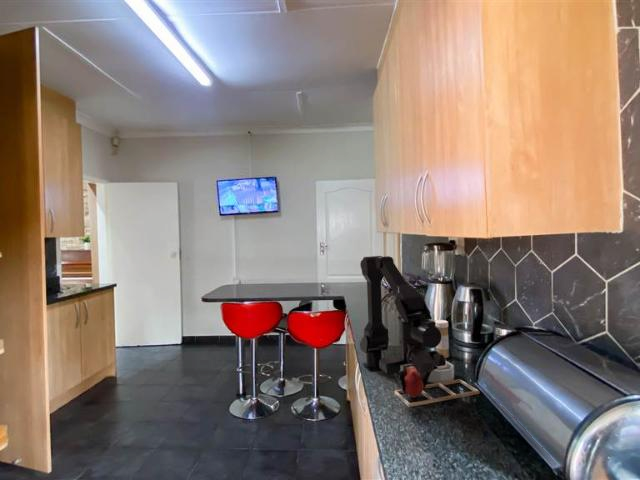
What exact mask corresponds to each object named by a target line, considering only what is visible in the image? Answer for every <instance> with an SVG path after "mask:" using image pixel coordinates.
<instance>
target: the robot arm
mask: <svg viewBox="0 0 640 480" xmlns="http://www.w3.org/2000/svg"><path fill="white" fill-rule="evenodd" d="M359 265H360V266H359V267H360V269H361V273H362V276H363V278H364V279H365V280H366V288H367V289H366V292H367V321H368V322H367V324H366V325H365V328H364V329H363V337H362V339H361V340H360V342H359V348H360V350H361V351H362V352H363V353H365V360H366V361H365V362H363V363H362V365H363V367H365V368H366V369H367V370H368V371H370V372H372V371H378V370H382V371H383V372H384V373H386V374H387V375H394V376H395V378H396V381H397V383H398V385H399V388H400V389H401V390H402V392H403V394H405V393H406V392H405V377H406V376H407V371H404V367H410V366H414V367H415V368H416V370H417V372H419V373H420V378H421V379H422V381H423V384H424V389H423V391H424V390H425V389H426V388H425V387H426V385H428V378H429V376H430V373H431V372H432V371H433V370H435V369H437V368H438V366H444V365H446V361H447V359H446V358H445V357H444V355H442V354H440V353H439V352H437V350H435V348H437V347H436V346H438V344H439V343H440V341H441V333H440V331H439V329H438V328H437V327H436V326H435V322H434V321H433V320H432V315H431V311H430V310H429V308H428V306H427V303H426V300H425V299H424V297H423V295H421V293H419V291H418V290H417V289H415V288H413V287H412V286H410V285H409V284H408V283H407V281H406V279H405V278H404V276H403V274H402V273H401V272H400V270H399V268H397V265H396V264H395V261H394V258H393V257H392V256H389V255H388V256H387V255H386V256H382V255H375V256H374V255H372V256H364V257H363V258H362V259H361V261H360V264H359ZM383 279H385V281H386V282H387V284H388V286H389V288H390V290H391V291H392V293H393V294H394V295H393V296H394V302H393V303H394V305H395V308H396V310H397V312H398V313H399V315H398V316H397V319H398V320H399V321H400V327H401V328H400V331H401V332H400V333H401V336H400V337H401V338H400V339H399V343H400V344H401V352H400V353H399V357H401V358H402V359H396V358H394V357H393V356H387V357H383V351H387V350H388V348H389V343H390V342H389V340H390V337H389V330H388V328H386V326H385V324H384V323H383V304H382V281H383ZM426 348H428V349H434V350H428V351H427V350H426Z"/></svg>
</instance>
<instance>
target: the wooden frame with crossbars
mask: <svg viewBox="0 0 640 480" xmlns="http://www.w3.org/2000/svg"><path fill="white" fill-rule="evenodd" d="M457 383H458V384H459V383H460V384H461V385H463V386H465V387H467V388H468V389H469V390H471V391H466V392H463V393H455V392H454V391H452V390H450V389H449V388H448V387H446V386H447V385H453V384H457ZM436 387H439V388H440V389H442V390H443V391H445V392H446V393H448V394H450V395H447V396H442V397H441V396H440V397H436V398H434V397H432V396H431V395H429V394H428V393H427V392H425V391H424V390H423V391H422V393H421V394H422V395H423V396H424V397H425V398H427V399H425V400H419V401H415V402H409V401H408V400H407V399H406V398H405V397H404V396H403V395H402V393H403V392H402V390H401V388H400V389H395V390H393V394H394V395H395V396H396V397H398V398H399V400H401V401H402V402H403V403H404V404H405V405H406V406H408V408H411V407H416V406H421V405H428V404H434V403H437V402H442V401H443V402H444V401H448V400H453V399H458V398H465V397H470V396H473V395H479V394H480V390H479V389H477V388H476V387H474V386H472V385H470V384H469V383H467V382H466V381H464V380H462V379H461V378H460V379H459V378H458V379H453V380H452V381H446V382H440V383H430V384H426V387H425V389H430V388H436ZM403 394H404V393H403Z"/></svg>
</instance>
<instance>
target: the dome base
mask: <svg viewBox="0 0 640 480" xmlns="http://www.w3.org/2000/svg"><path fill="white" fill-rule="evenodd" d="M446 362H447V364H448V365H449V369H445V370H433V371H432V372H431V373H430V376H429V378H428V381H427V383H431V384H435V383H440V382H446V381H452V380H455V379H454V378H455V365H454V364H453V363H450V361H447V360H446ZM411 370H412V371H414V372H415V373H416V374H417V375H418V376H419V377H420V373H419V372H417V370H416V368H415V367H414V366H413V365H410V366H406V376H407V375H408V374H410V371H411Z"/></svg>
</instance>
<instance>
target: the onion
mask: <svg viewBox="0 0 640 480" xmlns="http://www.w3.org/2000/svg"><path fill="white" fill-rule="evenodd" d="M423 389H424V384H423V381H422V379H421V378H420V377H419V376H418V375H417V374H416V373H415V372H414V371H412V370H411V371H410V374H408V375H407V374H406V375H405V393H406V394H407V395H408V396H410V397H411V398H412V399H415V398H417V397H419V396H420V395H421V394H422V391H424V390H425V389H424V390H423Z"/></svg>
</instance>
